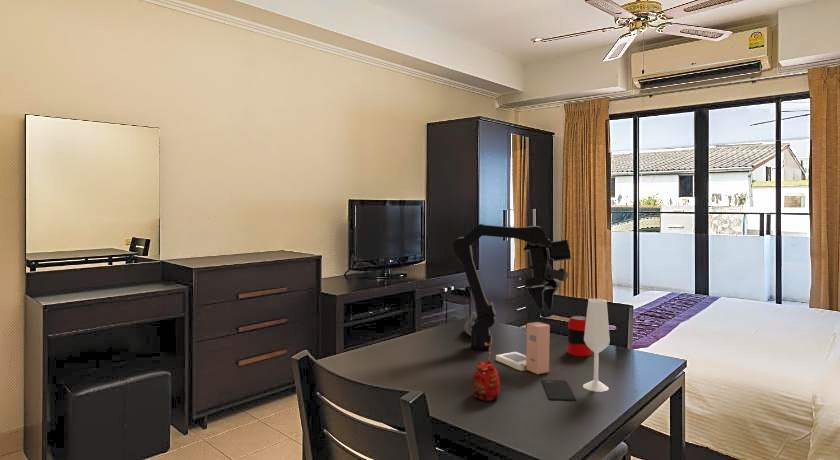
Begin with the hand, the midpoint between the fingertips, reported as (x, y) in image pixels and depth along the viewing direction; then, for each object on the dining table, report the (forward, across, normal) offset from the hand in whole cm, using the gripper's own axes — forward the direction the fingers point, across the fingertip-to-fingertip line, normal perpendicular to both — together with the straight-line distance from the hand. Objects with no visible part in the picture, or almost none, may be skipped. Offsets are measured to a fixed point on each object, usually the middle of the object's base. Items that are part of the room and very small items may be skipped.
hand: (545, 309), depth 170 cm
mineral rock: (+6, +14, +33) cm, 36 cm away
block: (+19, -15, 0) cm, 24 cm away
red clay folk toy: (+23, -41, +6) cm, 47 cm away
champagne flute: (+23, -18, -17) cm, 34 cm away
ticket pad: (+16, -10, +8) cm, 21 cm away
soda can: (+15, +11, -6) cm, 20 cm away
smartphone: (+24, -26, -8) cm, 36 cm away
